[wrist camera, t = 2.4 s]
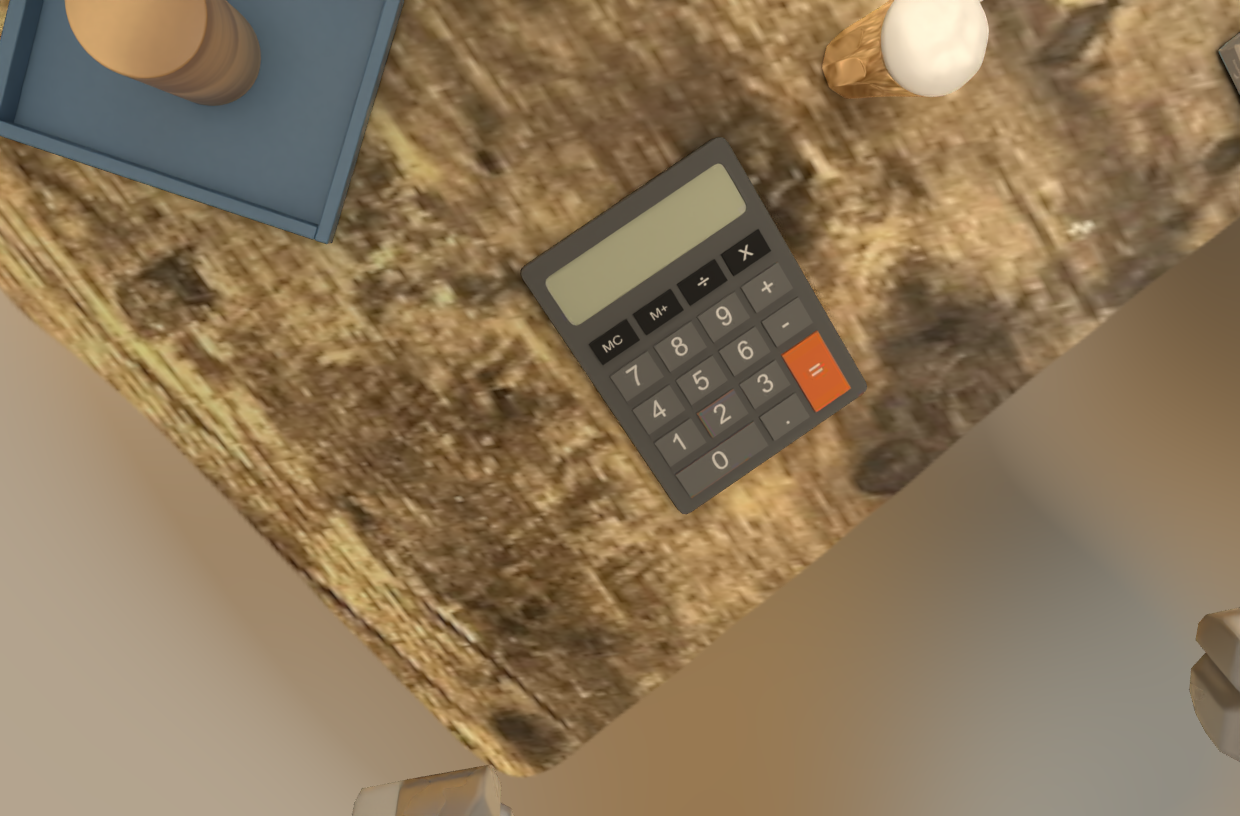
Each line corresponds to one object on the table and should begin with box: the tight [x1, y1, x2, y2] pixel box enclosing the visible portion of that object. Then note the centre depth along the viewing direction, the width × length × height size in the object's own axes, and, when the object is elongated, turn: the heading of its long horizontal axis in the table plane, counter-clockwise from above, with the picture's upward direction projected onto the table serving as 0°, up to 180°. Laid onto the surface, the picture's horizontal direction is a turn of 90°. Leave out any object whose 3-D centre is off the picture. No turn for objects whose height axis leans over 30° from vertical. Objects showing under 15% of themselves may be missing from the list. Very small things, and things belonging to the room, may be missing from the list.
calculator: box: [520, 137, 867, 514], centre depth 47 cm, size 12×1×15 cm
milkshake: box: [822, 0, 989, 99], centre depth 42 cm, size 4×5×10 cm
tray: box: [0, 0, 404, 244], centre depth 41 cm, size 14×12×2 cm
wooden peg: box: [65, 0, 261, 106], centre depth 36 cm, size 4×4×10 cm
